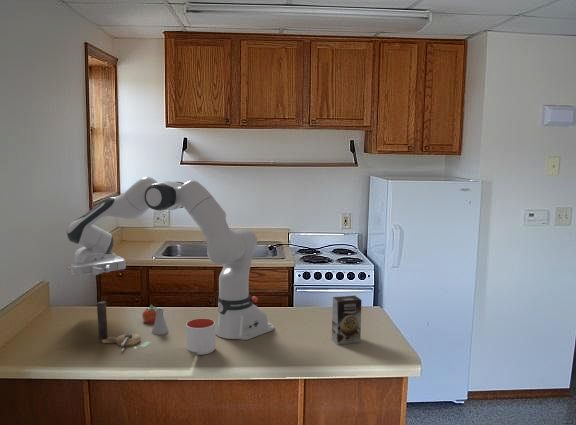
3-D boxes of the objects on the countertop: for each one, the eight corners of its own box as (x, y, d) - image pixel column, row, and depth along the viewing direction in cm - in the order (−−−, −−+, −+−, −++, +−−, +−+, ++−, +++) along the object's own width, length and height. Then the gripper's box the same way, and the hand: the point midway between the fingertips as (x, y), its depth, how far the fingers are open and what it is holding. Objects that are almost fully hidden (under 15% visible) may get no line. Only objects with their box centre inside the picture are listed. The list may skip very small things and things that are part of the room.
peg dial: (142, 337, 193) (141, 299, 191) (133, 350, 181) (132, 310, 179) (102, 337, 193) (100, 299, 191) (91, 350, 181) (88, 310, 179)
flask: (165, 339, 195) (164, 313, 193) (146, 338, 196) (145, 312, 195) (173, 332, 202) (172, 307, 200) (155, 331, 203) (154, 306, 202)
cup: (185, 346, 188) (184, 319, 187) (213, 343, 191) (212, 317, 190) (188, 358, 179) (187, 329, 177) (218, 354, 182) (217, 326, 180)
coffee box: (337, 345, 189) (338, 301, 187) (331, 338, 196) (331, 296, 193) (361, 342, 192) (362, 299, 190) (354, 336, 198) (355, 294, 196)
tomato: (159, 327, 207) (158, 307, 206) (140, 327, 207) (139, 307, 206) (163, 320, 214) (163, 301, 213) (145, 320, 214) (144, 301, 213)
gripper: (65, 259, 204) (74, 266, 193) (118, 252, 216) (130, 258, 204) (66, 275, 205) (75, 283, 194) (119, 267, 216) (130, 274, 205)
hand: (104, 270), depth 199 cm, fingers closed
